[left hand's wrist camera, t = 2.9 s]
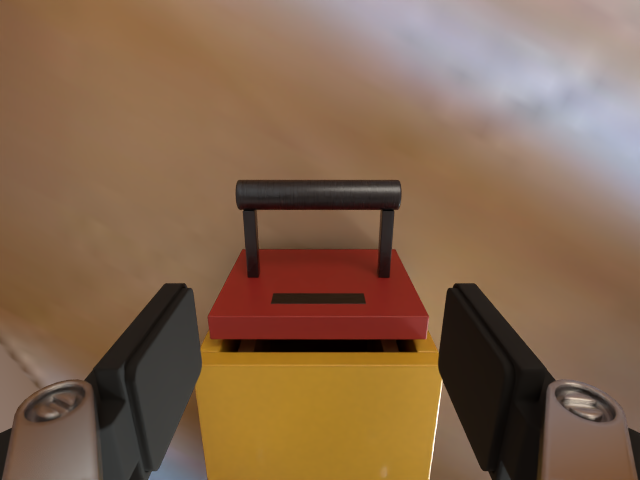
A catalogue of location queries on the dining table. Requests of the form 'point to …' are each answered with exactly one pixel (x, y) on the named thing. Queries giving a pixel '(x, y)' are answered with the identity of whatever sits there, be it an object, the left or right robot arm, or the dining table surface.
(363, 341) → the drawer
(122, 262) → the dining table surface
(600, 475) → the left robot arm
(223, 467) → the cabinet
